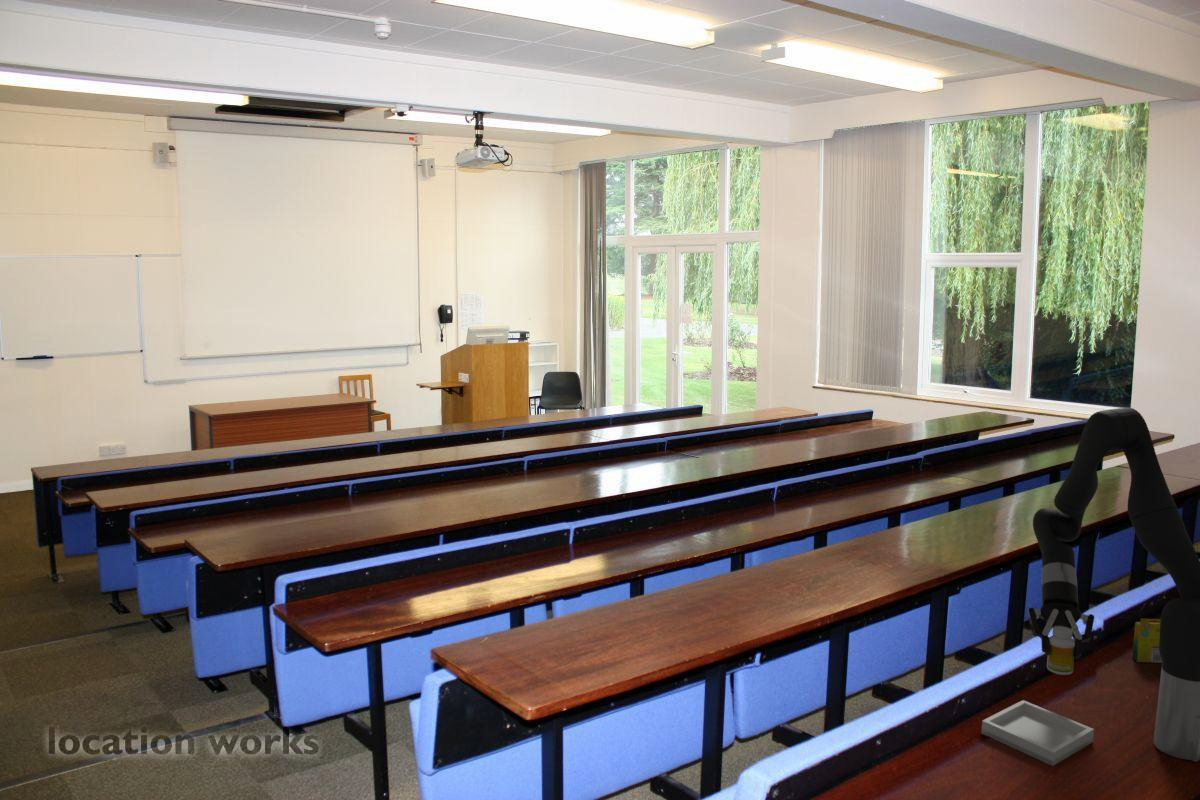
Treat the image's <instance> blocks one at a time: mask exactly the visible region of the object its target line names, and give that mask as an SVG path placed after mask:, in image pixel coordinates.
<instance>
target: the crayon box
mask: <svg viewBox="0 0 1200 800" xmlns="http://www.w3.org/2000/svg"><path fill="white" fill-rule="evenodd" d="M1160 620H1161V618H1140V620H1139V621H1135V623H1134V634H1133V645H1132V655H1131V657H1132V659H1133V660H1135V661H1136V663H1159V664H1160V663H1161V664H1162V658H1161V656H1160V652H1159V638H1160Z"/></svg>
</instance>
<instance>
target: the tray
mask: <svg viewBox="0 0 1200 800" xmlns="http://www.w3.org/2000/svg"><path fill="white" fill-rule="evenodd" d="M1094 731H1095V729H1094V728H1092V727H1090V726H1087V725H1085V724H1082V723H1080V722H1078V721H1075V720H1073V719H1070V718H1068V717H1065V716H1062V715H1061V714H1059V713H1056V712H1053V711H1051V710H1049V709H1045V708H1043V707H1041V706H1039V705H1036V704H1034V703H1031V702H1029V701H1026V700H1025V699H1022V700H1021V701H1019V702H1018V701H1017V702H1016V703H1014V704H1012V705H1011V706H1008V707H1007V708H1004V709H1002V710H1001V711H999V712H997V713H995V714H992V715H991V716H989V717H987V718H985V719H983V720H982V721H981V732H980V733H981V734H982V735H984V736H986V737H988V736H989V737H988V738H990V737H991V739H992V738H993V740H995V741H997V742H999V743H1001V744H1003V745H1005V744H1006V746H1008V747H1010V748H1011V749H1015V750H1017V751H1018V752H1021V753H1023V754H1025V755H1028V756H1030V757H1032V758H1034V759H1036V760H1039V761H1041V762H1043V763H1045V764H1047V765H1049V766H1051V767H1054V766H1055V765H1057V764H1058V763H1061V762H1062V761H1064V760H1065V759H1068V758H1069V757H1071V756H1072V755H1074V754H1076V753H1077V752H1079V751H1081V750H1082V749H1084V748H1086V747H1088V746H1089V745H1090V744H1092V743H1093V742H1094V735H1095V734H1094Z"/></svg>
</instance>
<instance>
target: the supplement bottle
mask: <svg viewBox="0 0 1200 800" xmlns="http://www.w3.org/2000/svg"><path fill="white" fill-rule="evenodd" d="M1072 632H1073V631H1072V630H1071V629H1070V628H1067V627H1063V626H1055V627H1052V635H1051V636H1049V650H1050V651H1049V655H1046V657H1047V658H1046V659H1047V660H1046V668H1047V670H1048V671H1049V672H1050V673H1053V674H1056V675H1063V676H1065V675H1066V676H1067V675H1071V674H1073V672H1074V666H1075V665H1074V663H1075V658H1074V652H1075V641H1074V639H1073V637H1072Z"/></svg>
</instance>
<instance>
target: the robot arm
mask: <svg viewBox="0 0 1200 800" xmlns="http://www.w3.org/2000/svg"><path fill="white" fill-rule="evenodd" d="M1118 451H1122V452H1123V453H1124V456H1125V458H1126V461H1127V464H1128V467H1129V469H1130V470H1129V471H1130V486H1129V490H1128V498H1127V514H1128V518H1129V519H1130V522H1131V525H1132V527H1133V529H1134V532H1135V535H1136V537H1137V538H1138V541H1139V542H1140V544H1141V545H1142V546H1143V548H1144V549H1145V550H1146V551H1147V552H1148V554H1150V555H1151V557H1152V558H1154V559H1155V560H1156V561H1157V562H1158V563H1159V564H1160V565H1161V566H1162V568H1164V569H1165V570H1166V572H1167V573H1168V575H1169V576H1170V577H1171V579H1172V580H1173V583H1174V584H1175V587H1176V589H1177V592H1178V593H1179V596H1180V598H1175V599H1172V600H1170V601H1168V602H1167V603H1166V604H1165V605H1164V607H1163V608H1162V611H1161V614H1160V619H1161V620H1160V622H1159V623H1160V638H1159V652H1160V656H1161V658H1162V663H1161V669H1160V670H1161V671H1160V680H1159V688H1158V698H1157V707H1156V716H1155V726H1154V732H1153V733H1154V734H1153V736H1154V737H1153V745H1154V746H1155V748H1157V749H1158V750H1159V751H1160V752H1163V754H1166V755H1169V756H1171V757H1174V758H1178V759H1182V760H1189V761H1192V762H1193V763H1194V762H1195V763H1198V762H1199V761H1200V558H1199V555H1198V554H1197V551H1196V550H1195V547H1194V545H1193V542H1192V541H1191V538H1190V536H1189V534H1188V531H1187V528H1186V526H1185V523H1184V520H1183V518H1182V516H1181V513H1180V510H1179V509H1178V506H1177V504H1176V502H1175V500H1174V497H1173V495H1172V493H1171V491H1170V488H1169V486H1168V483H1167V481H1166V479H1165V476H1164V474H1163V471H1162V468H1161V465H1160V463H1159V460H1158V459H1159V458H1158V457H1157V453H1156V450H1155V446H1154V443H1153V439H1152V436H1151V433H1150V429H1149V428H1148V424H1147V422H1146V419H1144V417H1143V415H1142V414H1141V413H1140V412H1139V411H1138V410H1137V409H1135V408H1133V407H1119V408H1112V409H1105V410H1099V411H1096V412H1094V413H1093V414H1091V415H1090V417H1089V418H1088V419H1087V421H1086V423H1085V425H1084V427H1083V431H1082V433H1081V437H1080V440H1079V443H1078V446H1077V448H1076V452H1075V455H1074V458H1073V461H1072V464H1071V467H1070V469H1069V471H1068V473H1067V475H1066V477H1065V479H1064V481H1063V482H1062V484H1061V486H1060V487H1059V489H1058V490H1057V493H1056V495H1055V496H1054V499H1053V502H1054V506H1055V508H1056V509H1053V508H1046V507H1042V508H1039V509H1038V510H1037V511H1036V512H1035V513H1034V515H1033V519H1032V529H1033V532H1034V535H1035V537H1036V541H1037V543H1038V546H1039V549H1040V553H1041V567H1042V569H1041V581H1040V586H1041V607H1040V608H1039V609H1036V608H1033V607H1029V609H1028V611H1027V617H1028V621H1029V625H1030V630H1031V634H1032V636H1034V637H1038V638H1039V639H1040V641H1041V643H1040V644H1041V652H1042V653H1044V655H1045V656H1047V655H1049V651H1050V650H1049V638H1050V636H1049V635H1050V633H1051V631H1052V630H1053V627H1055V626H1063V627H1067V628H1070V629H1071V630H1072V631H1073V632H1072V639H1073V640H1074V641H1075V652H1074V660H1079V658H1081V657H1082V654H1083V643H1089V642H1090V639H1091V638H1092V632H1093V627H1094V621H1095V615H1094V614H1092V613H1090V614H1088V615H1087V614H1084V613H1082V612H1081V611H1080V608H1079V596H1078V594H1079V593H1078V591H1079V590H1078V579H1077V571H1076V559H1075V558H1076V557H1075V556H1076V555H1075V550H1074V549H1073V547H1071V546H1070V545H1068V544H1067V543H1070V542H1073V541H1076V540H1077V539H1078V538H1079V537H1080V534H1081V532H1082V526H1083V525H1082V523H1083V520H1084V516H1085V513H1086V510H1087V508H1088V506H1089V505H1090V502H1091V501H1092V499H1093V498H1094V496H1095V494H1096V492H1097V489H1098V486H1099V477H1098V471H1097V470H1098V466H1099V464H1100V462H1101V461H1102V460H1103V459H1104V458H1105V457H1106V455H1107V454H1108V453H1109V452H1118ZM1064 542H1066V543H1064ZM1040 616H1041V617H1042V618H1043V619H1044V621H1045V622H1046V624H1045V625H1044V628H1043V630H1042V629H1040V625H1039V623H1038V619H1039V617H1040ZM1080 620H1082V621H1081V622H1082V624H1083V625H1085V628H1084V633H1083V634H1081V632H1080V630H1079V627H1078V624H1077V623H1078V621H1080Z"/></svg>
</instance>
